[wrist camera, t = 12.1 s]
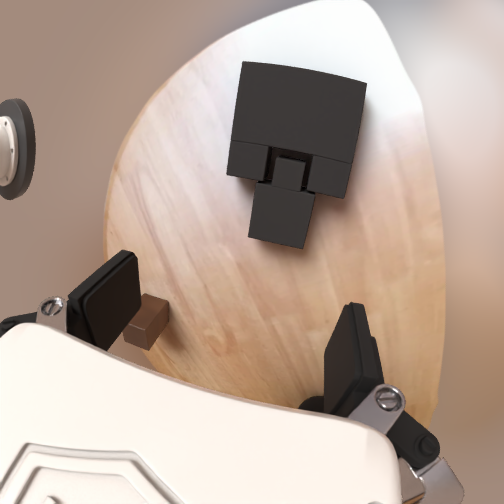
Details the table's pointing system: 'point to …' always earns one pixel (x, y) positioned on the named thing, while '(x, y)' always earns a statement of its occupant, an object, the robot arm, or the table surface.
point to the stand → (147, 322)
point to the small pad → (282, 205)
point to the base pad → (296, 123)
